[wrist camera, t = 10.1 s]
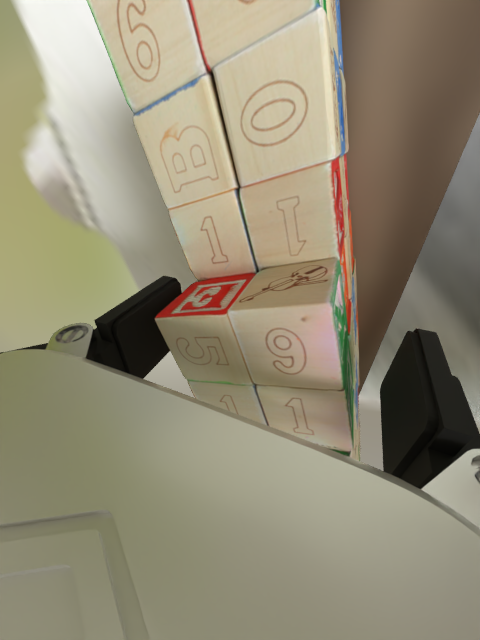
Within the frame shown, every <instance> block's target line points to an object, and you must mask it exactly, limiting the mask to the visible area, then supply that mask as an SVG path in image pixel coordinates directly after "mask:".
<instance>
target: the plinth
mask: <svg viewBox="0 0 480 640" xmlns="http://www.w3.org/2000/svg"><path fill="white" fill-rule="evenodd" d="M339 2H340V20H341V35H342V53H343V73H344V79H345V85H346V105H347V124H348V144H349V150H348V152H347V153H346V158H347V176H348V191H349V209H350V211H351V227H352V243H353V256H354V257H355V261H356V283H357V309H358V328H359V346H358V347H359V378H360V385H359V386H358V396H359V394H360V391H361V389H362V387H363V384H364V382H365V380H366V377H367V375H368V373H369V370H370V368H371V366H372V363H373V361H374V359H375V356H376V354H377V351H378V349H379V347H380V344H381V342H382V340H383V337H384V335H385V333H386V330H387V328H388V326H389V323H390V321H391V319H392V316H393V314H394V312H395V309H396V307H397V305H398V302H399V300H400V298H401V295H402V293H403V291H404V288H405V286H406V284H407V281H408V279H409V277H410V274H411V272H412V270H413V267H414V265H415V263H416V260H417V258H418V256H419V253H420V251H421V249H422V246H423V244H424V242H425V239H426V237H427V235H428V232H429V230H430V228H431V225H432V223H433V220H434V218H435V216H436V213H437V211H438V209H439V206H440V204H441V202H442V199H443V197H444V195H445V192H446V190H447V188H448V185H449V183H450V181H451V178H452V176H453V174H454V171H455V169H456V167H457V164H458V162H459V160H460V157H461V155H462V153H463V150H464V148H465V146H466V143H467V141H468V139H469V136H470V134H471V132H472V129H473V127H474V125H475V122H476V120H477V118H478V115H479V113H480V0H339Z"/></svg>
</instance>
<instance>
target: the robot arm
mask: <svg viewBox="0 0 480 640" xmlns="http://www.w3.org/2000/svg"><path fill="white" fill-rule="evenodd" d="M181 294H182V292H181V285H180V283H179V282H178V281H177V279H176V278H172V277H168V276H162V277H161V278H159V279H158V280H156V281H155V282H153V283H152V284H150V285H148V286H147V287H145V288H144V289H142V290H141V291H139V292H138V293H136V294H135V295H133V296H131V297H130V298H128V299H127V300H125V301H124V302H122V303H121V304H119V305H118V306H116V307H115V308H113V309H111V310H110V311H108V312H107V313H105V314H104V315H102V316H101V317H99V318H97V319H96V320H95V323H96V326H97V328H96V329H93V327H92V326H91V325H89V324H86V323H76V324H71V325H68V326H65V327H63V328H61V329H59V330H58V331H57V332H55V333H54V334H53V335H52V337H51V339H50V341H49V343H46V344H42V345H36V346H32V347H27V348H22V349H17V350H13V351H8V352H1V353H0V640H480V434H479V431H478V428H477V426H476V423H475V420H474V418H473V415H472V413H471V410H470V407H469V405H468V402H467V399H466V397H465V394H464V391H463V389H462V386H461V384H460V381H459V380H458V378H457V377H455V376H452V375H451V372H450V369H449V366H448V363H447V360H446V358H445V355H444V352H443V349H442V346H441V344H440V341H439V338H438V335H437V333H435V332H431V331H426V330H421V329H415V330H414V331H413V332H411V331H408V332H407V333H406V335H405V337H404V339H403V341H402V343H401V345H400V347H399V349H398V351H397V353H396V355H395V358H394V360H393V362H392V364H391V366H390V368H389V370H388V372H387V374H386V376H385V378H384V380H383V382H382V385H381V389H380V400H381V422H382V445H383V467H384V471H381V470H379V469H377V468H374V467H372V466H370V465H368V464H365V463H363V462H360V461H358V460H355V459H353V458H350V457H348V456H345V455H343V454H340V453H337V452H335V451H332V450H330V449H327V448H325V447H322V446H320V445H317V444H315V443H312V442H310V441H307V440H304V439H302V438H299V437H296V436H294V435H291V434H288V433H286V432H283V431H281V430H278V429H275V428H273V427H270V426H267V425H265V424H262V423H259V422H257V421H254V420H252V419H249V418H246V417H244V416H241V415H238V414H236V413H233V412H230V411H228V410H225V409H222V408H220V407H217V406H214V405H212V404H209V403H206V402H204V401H201V400H198V399H196V398H193V397H190V396H187V395H185V394H182V393H179V392H177V391H174V390H171V389H169V388H166V387H163V386H160V385H157V384H155V383H152V382H149V381H147V380H144V379H143V378H144V377H145V376H146V375H147V374H148V373H149V372H150V371H151V370H152V369H153V368H154V367H155V366H156V365H157V364H158V363H159V362H160V360H161V359H163V357H164V356H165V355H166V354H167V353H168V352H169V351H170V349H169V347H168V345H167V343H166V341H165V339H164V337H163V335H162V333H161V331H160V329H159V327H158V325H157V323H156V321H155V319H154V318H155V317H156V316H157V314H158V313H160V312H161V311H162V310H163V309H164V308H165V307H167V306H168V305H169V304H170V303H171V302H172V301H174V300H175V299H176V298H177V297H178V296H179V295H181Z"/></svg>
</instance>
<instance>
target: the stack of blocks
mask: <svg viewBox="0 0 480 640" xmlns="http://www.w3.org/2000/svg"><path fill="white" fill-rule="evenodd" d="M87 3H88V5H89V7H90V9H91V12H92V14H93V17H94V19H95V22H96V24H97V27H98V29H99V32H100V35H101V37H102V40H103V42H104V45H105V47H106V50H107V52H108V55H109V57H110V60H111V62H112V65H113V68H114V71H115V73H116V76H117V78H118V81H119V83H120V86H121V88H122V91H123V93H124V96H125V98H126V101H127V104H128V105H129V107H130V108H131V110H132V112H133V113H134V115H133V123H134V126H135V129H136V131H137V133H138V136H139V138H140V141H141V144H142V146H143V149H144V152H145V154H146V157H147V160H148V162H149V165H150V167H151V170H152V172H153V175H154V177H155V180H156V182H157V185H158V187H159V190H160V193H161V196H162V198H163V201H164V203H165V205H166V207H167V208H168V210H169V216H170V220H171V223H172V225H173V227H174V230H175V232H176V235H177V237H178V240H179V243H180V245H181V247H182V250H183V252H184V254H185V257H186V259H187V262H188V264H189V267H190V269H191V271H192V273H193V274H194V276H195V277H196V279H197V280H198V282H195V283H193V284H191V285H190V286H189V287H188V288H187V289H186V290H185V291H184V292H183V293H182V294H181V295H179V296H178V297H177V298H176V299H175V300H174V301H172V302H171V303H170V304H169V305H168V306H167V307H165V308H164V309H163V310H162V311H161V312H160V313H158V314H157V316H156V317H155V318H154V319H155V321H156V323H157V325H158V327H159V329H160V331H161V333H162V335H163V337H164V339H165V341H166V343H167V345H168V347H169V349H170V351H171V353H172V355H173V357H174V359H175V361H176V363H177V365H178V366H179V368H180V370H181V372H182V374H183V376H184V377H185V378H186V379H187V381H188V384H189V386H190V388H191V391H192V393H193V395H194V397H195V398H196V399H198V400H201V401H204V402H206V403H209V404H212V405H214V406H217V407H220V408H222V409H225V410H228V411H230V412H233V413H236V414H238V415H241V416H244V417H246V418H249V419H252V420H254V421H257V422H259V423H262V424H265V425H267V426H270V427H273V428H275V429H278V430H281V431H283V432H286V433H288V434H291V435H294V436H296V437H299V438H302V439H304V440H307V441H310V442H312V443H315V444H317V445H320V446H322V447H325V448H327V449H330V450H332V451H335V452H337V453H340V454H343V455H345V456H348V457H350V458H353V459H355V460H358V461H360V420H359V404H358V386H359V385H360V378H359V347H358V346H359V328H358V309H357V283H356V261H355V257H354V256H353V243H352V227H351V211H350V209H349V191H348V176H347V158H346V153H347V152H348V150H349V144H348V124H347V105H346V85H345V79H344V73H343V53H342V35H341V20H340V2H339V0H87Z"/></svg>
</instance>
